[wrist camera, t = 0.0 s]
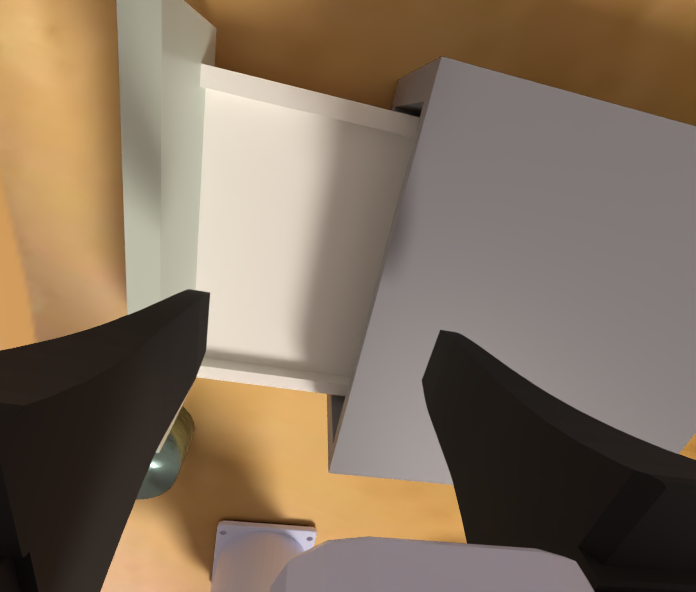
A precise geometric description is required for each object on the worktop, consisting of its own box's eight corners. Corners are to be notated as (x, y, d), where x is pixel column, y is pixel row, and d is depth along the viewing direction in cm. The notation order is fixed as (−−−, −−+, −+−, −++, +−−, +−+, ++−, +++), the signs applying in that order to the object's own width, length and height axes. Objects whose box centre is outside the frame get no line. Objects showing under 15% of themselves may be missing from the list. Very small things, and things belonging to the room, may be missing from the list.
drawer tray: (443, 406, 25) (475, 483, 20) (176, 372, 23) (132, 450, 17) (560, 119, 18) (662, 118, 13) (187, 21, 15) (115, -32, 10)
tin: (193, 456, 27) (175, 502, 24) (114, 449, 26) (84, 495, 23) (196, 399, 25) (177, 440, 22) (110, 388, 24) (77, 430, 21)
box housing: (566, 414, 27) (639, 502, 21) (326, 383, 25) (328, 472, 18) (715, 162, 20) (895, 181, 14) (398, 79, 18) (441, 56, 11)
